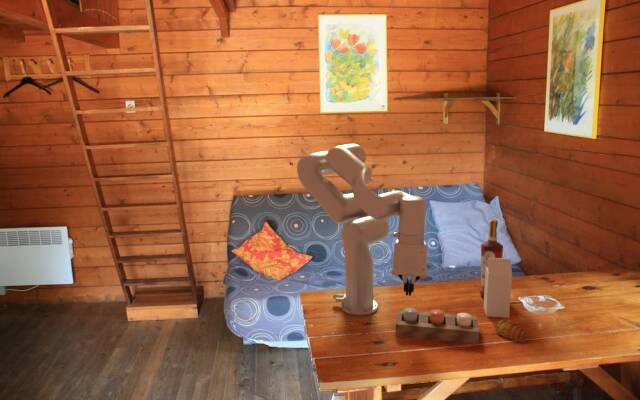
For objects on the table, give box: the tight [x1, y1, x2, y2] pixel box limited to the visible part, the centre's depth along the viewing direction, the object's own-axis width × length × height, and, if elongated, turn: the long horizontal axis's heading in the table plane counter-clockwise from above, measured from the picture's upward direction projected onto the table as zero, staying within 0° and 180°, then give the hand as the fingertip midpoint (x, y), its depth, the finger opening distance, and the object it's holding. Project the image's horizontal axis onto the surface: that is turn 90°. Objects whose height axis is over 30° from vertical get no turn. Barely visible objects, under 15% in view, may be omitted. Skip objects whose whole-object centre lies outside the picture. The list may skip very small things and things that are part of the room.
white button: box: [456, 312, 473, 327], centre depth 145 cm, size 4×4×4 cm
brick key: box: [429, 308, 445, 325], centre depth 147 cm, size 4×4×4 cm
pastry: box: [495, 318, 530, 343], centre depth 144 cm, size 9×7×4 cm
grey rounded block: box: [403, 307, 418, 322], centre depth 149 cm, size 4×4×4 cm
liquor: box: [479, 219, 504, 297], centre depth 168 cm, size 7×7×28 cm
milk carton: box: [483, 257, 513, 319], centre depth 157 cm, size 7×7×19 cm
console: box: [395, 309, 480, 345], centre depth 147 cm, size 24×10×4 cm, turn 76°
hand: (408, 293), depth 148 cm, fingers closed
